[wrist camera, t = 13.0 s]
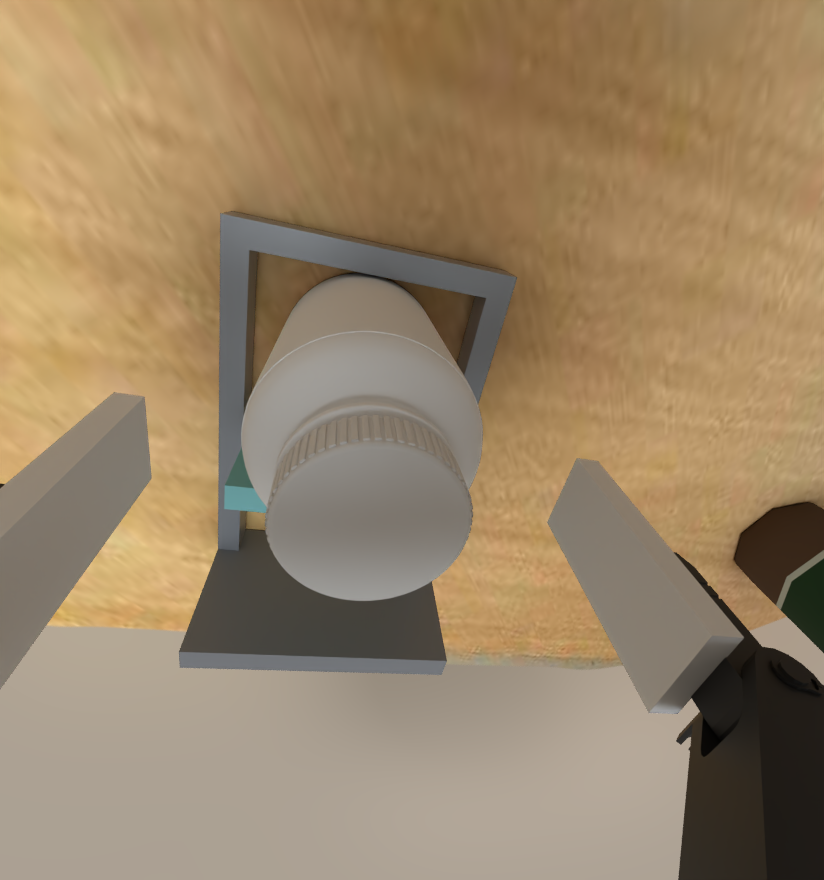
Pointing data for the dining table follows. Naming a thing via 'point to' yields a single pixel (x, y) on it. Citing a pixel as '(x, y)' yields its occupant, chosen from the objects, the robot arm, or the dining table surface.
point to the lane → (247, 551)
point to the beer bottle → (789, 564)
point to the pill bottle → (362, 442)
